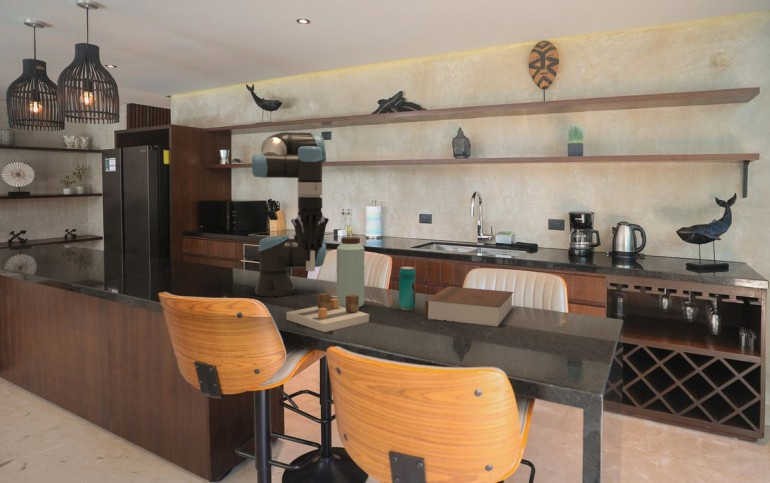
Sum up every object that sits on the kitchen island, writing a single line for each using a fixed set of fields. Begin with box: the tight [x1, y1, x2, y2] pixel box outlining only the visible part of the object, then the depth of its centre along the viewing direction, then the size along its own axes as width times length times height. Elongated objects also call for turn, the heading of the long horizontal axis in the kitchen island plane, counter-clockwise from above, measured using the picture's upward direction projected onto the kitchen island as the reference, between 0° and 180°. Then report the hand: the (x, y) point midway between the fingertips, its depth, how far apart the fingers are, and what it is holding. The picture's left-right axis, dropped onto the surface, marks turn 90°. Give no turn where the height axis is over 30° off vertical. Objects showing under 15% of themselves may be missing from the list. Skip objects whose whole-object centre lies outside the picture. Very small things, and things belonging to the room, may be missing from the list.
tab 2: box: [346, 295, 360, 312], centre depth 167 cm, size 3×3×5 cm
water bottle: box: [336, 236, 365, 308], centre depth 185 cm, size 10×10×25 cm
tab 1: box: [317, 292, 331, 310], centre depth 169 cm, size 3×3×5 cm
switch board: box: [286, 298, 370, 333], centre depth 165 cm, size 20×18×6 cm
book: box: [424, 285, 514, 327], centre depth 178 cm, size 24×28×7 cm
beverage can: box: [398, 266, 417, 312], centre depth 182 cm, size 6×6×15 cm
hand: (310, 270), depth 163 cm, fingers closed
